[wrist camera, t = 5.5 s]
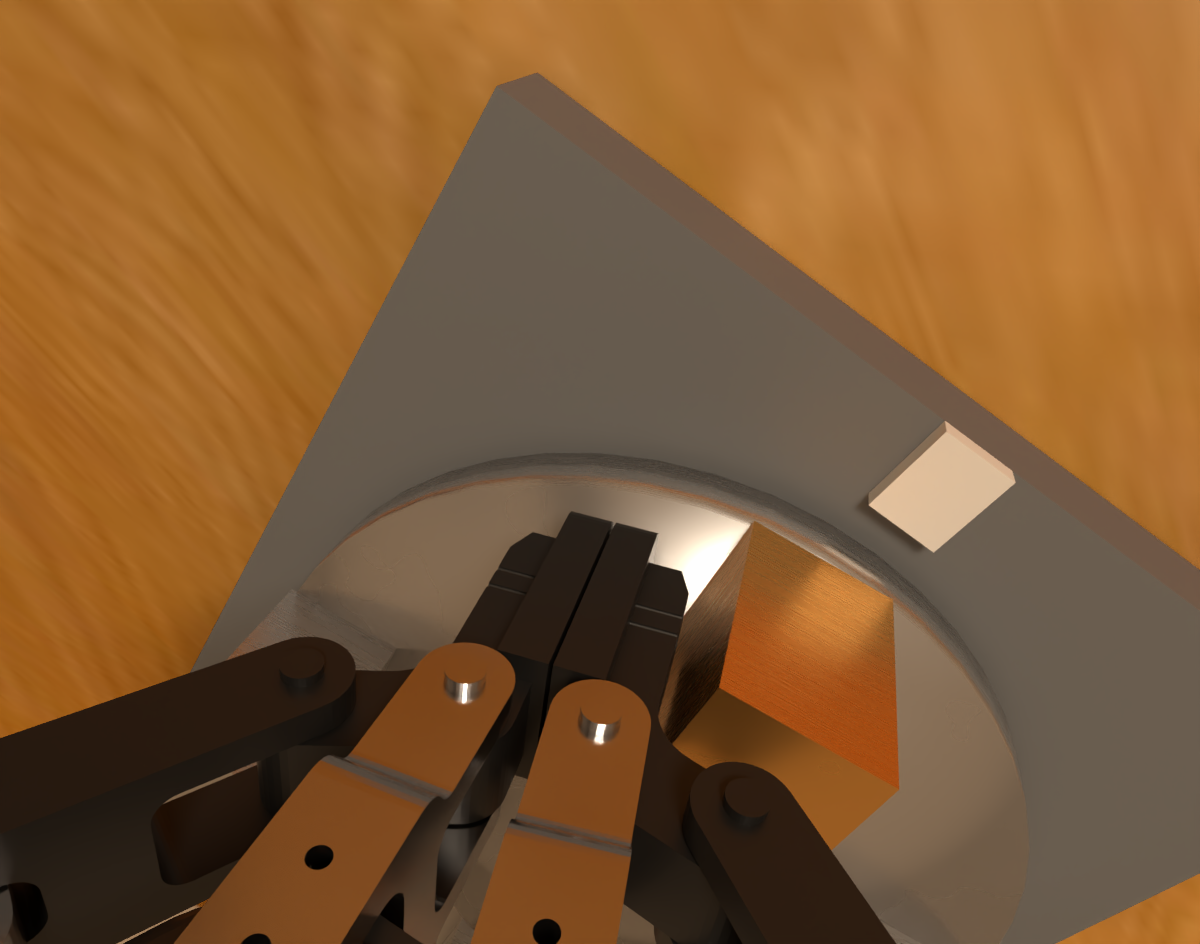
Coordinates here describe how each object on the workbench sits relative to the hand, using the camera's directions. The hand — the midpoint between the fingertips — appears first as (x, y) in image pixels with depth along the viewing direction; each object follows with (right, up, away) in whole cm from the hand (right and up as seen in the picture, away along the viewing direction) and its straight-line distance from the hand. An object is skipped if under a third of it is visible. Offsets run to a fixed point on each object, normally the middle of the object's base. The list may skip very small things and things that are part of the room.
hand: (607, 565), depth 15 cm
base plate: (+1, -4, +7) cm, 8 cm away
